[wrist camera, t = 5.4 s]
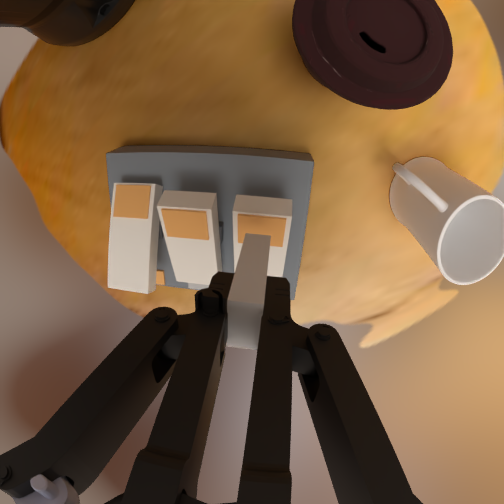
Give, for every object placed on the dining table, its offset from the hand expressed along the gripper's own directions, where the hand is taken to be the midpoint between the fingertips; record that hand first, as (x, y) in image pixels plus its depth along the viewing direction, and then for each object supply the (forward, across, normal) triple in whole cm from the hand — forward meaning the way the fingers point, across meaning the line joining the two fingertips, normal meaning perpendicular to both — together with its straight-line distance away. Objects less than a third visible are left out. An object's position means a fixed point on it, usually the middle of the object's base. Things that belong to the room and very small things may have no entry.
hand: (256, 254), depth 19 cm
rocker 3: (+8, 0, -4) cm, 8 cm away
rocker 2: (+8, -6, -3) cm, 11 cm away
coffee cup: (+15, +6, +15) cm, 21 cm away
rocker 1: (+8, -12, -4) cm, 15 cm away
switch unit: (+15, -6, -4) cm, 16 cm away
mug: (+15, +16, +3) cm, 22 cm away
